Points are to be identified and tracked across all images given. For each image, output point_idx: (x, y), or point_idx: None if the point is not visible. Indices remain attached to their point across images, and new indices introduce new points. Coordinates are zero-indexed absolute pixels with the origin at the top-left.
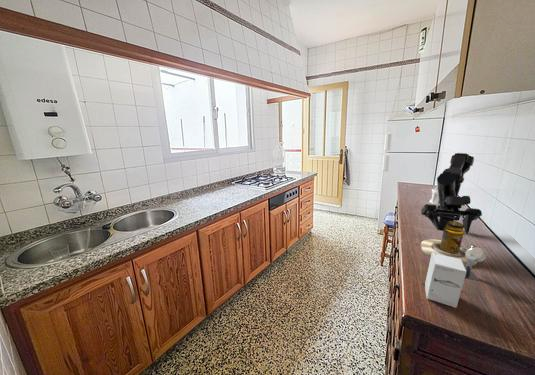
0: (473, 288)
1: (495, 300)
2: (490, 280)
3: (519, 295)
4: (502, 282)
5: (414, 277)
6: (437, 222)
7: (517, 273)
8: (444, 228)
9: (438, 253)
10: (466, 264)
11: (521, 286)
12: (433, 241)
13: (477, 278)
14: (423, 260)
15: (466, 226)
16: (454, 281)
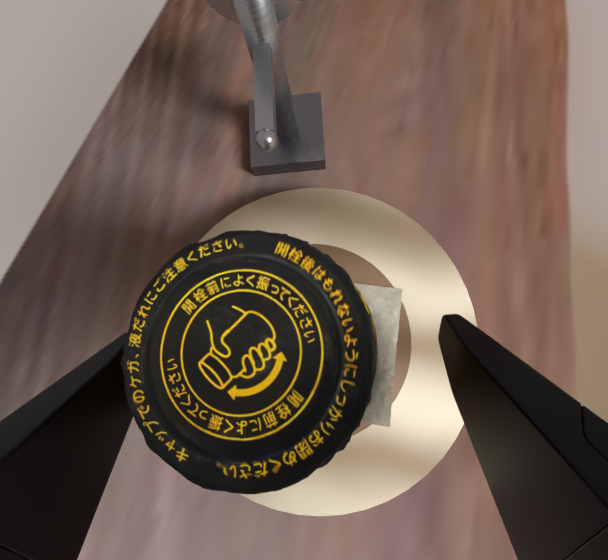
0: (289, 65)
1: (240, 24)
2: (193, 160)
3: (138, 96)
4: (151, 165)
5: (523, 31)
6: (526, 380)
7: (43, 279)
8: (376, 361)
9: (384, 258)
10: (288, 84)
11: (93, 167)
12: (375, 461)
13: (251, 113)
14: (458, 217)
15: (83, 407)
16: None
